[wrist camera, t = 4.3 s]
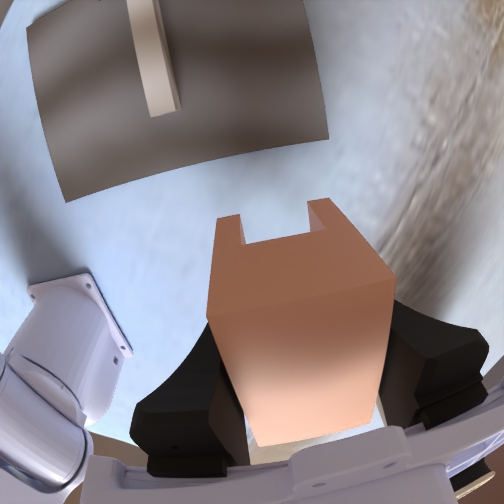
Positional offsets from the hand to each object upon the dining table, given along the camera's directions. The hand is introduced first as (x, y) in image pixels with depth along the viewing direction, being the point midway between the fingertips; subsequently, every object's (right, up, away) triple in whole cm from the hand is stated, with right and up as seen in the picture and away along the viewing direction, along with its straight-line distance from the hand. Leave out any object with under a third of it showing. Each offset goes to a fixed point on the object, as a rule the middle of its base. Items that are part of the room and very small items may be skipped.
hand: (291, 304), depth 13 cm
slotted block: (0, +1, +2) cm, 2 cm away
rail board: (-7, +14, +2) cm, 16 cm away
